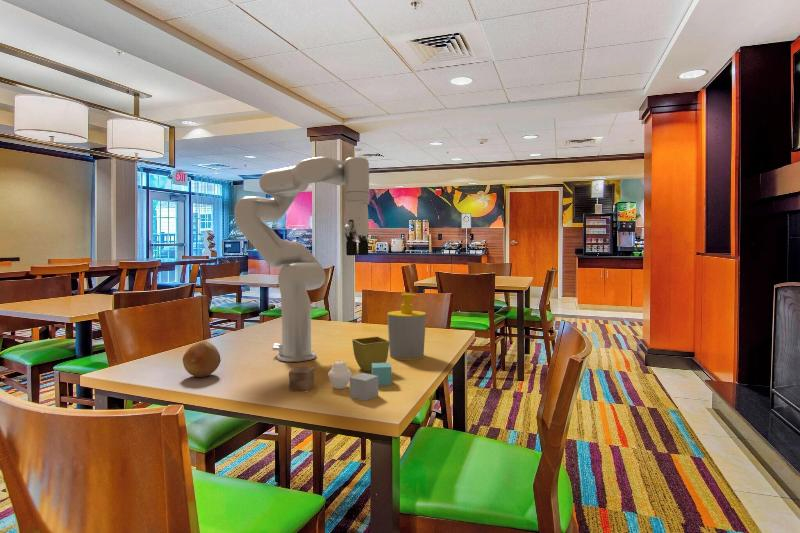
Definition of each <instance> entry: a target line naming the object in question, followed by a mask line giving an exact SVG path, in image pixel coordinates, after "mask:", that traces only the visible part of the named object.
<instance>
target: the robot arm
mask: <svg viewBox="0 0 800 533" xmlns="http://www.w3.org/2000/svg"><path fill="white" fill-rule="evenodd" d="M369 163H370V162H369V160H368V159H367V158H365V157H361V156H355V157H354V156H353V157H348V158H346V159H345V160H340V159H336V158H332V157H329V156H317V157H312V158H307V159H303V160H300V161H299V162H298V163H296V165H293V166H289V167H283V168H277V169H272V170H269V171H266V172H264V173H263V174H262V175H261V176H260V178H259V183H258V184H259V188H260V190H261V191H263V193H264V194H266V195H269V196H271V197H270V198H269V197H262V196H252V195H251V196H250V195H249V196H244V197H241V198H239V200H238V201H237V202H236V203H235V206H234V220H235V223H236V226H237V228H238V229H239V231H240V232H241V234H242V235H243V236H244V237H245V238H246V240H248V241H249V242H250V243H251V245H253V247H254V248H255V250H256V251H257V253H259V255H260V256H261V258H263V259H264V261H265V262H266V264H268V265H269V267H271V268H273V269H276V270H279V272H278V276H277V281H278V282H277V283H278V288H279V292H280V300H281V301H280V302H281V306H280V307H281V343H274V344H273V347H272V351H278V354H277V355H276V357H277V360H278V361H282V362H287V363H288V362H289V363H292V362H293V363H295V362H304V361H305V362H306V361H310V360H313V359H315V358H316V357H317V353H316V352H315V351H312V306H311V305H312V304H311V299H310V296H309V295H308V292H307V291H313V290H316V289H320V288H321V287H322V286H323V285H324V284H325V282H326V279H327V278H326V271H325V270H324V268H323V266H322V264H321V263H320V262H319V261H318V259H316V257H315V256H314V255H313V254H312V252H311V251H310V250H309V249H308V248H307V247H306V246H305V245H304V244H302V243H301V242H299V241H294V240H290V241H289V240H283V239H282V238H281V237H280V236H279V235H278V234H277V233H276V232H275V230H273V229H272V228H271V227H270V226H269V225H268V224H266V223H275V222H278V221H280V220H281V219H282V218H283V217H284V215H285V214H286V212H288V210H289V209H290V207H291V205H292V204H293V203H294V201H295V199H296V198H297V196H298V194H299V193H302V192H305V191H306V190H307V189H308V188H309V186H310V184H313V183H315V184H316V183H327V184H332V185H335V186H344V210H343V235H344V236H345V243H346V244H345V245H346V246H345V248H346V250H345V251H346V253H345V255H346V256H357V255H358V256H368V255H369V233H370V222H369V209H368V205H370V164H369ZM357 238H358V241H357Z"/></svg>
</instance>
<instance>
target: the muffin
mask: <svg viewBox="0 0 800 533" xmlns="http://www.w3.org/2000/svg"><path fill="white" fill-rule="evenodd" d="M327 375H328V376H327V377H328V379H329V382H330V383H331V385H332V387H333V388H334V389H338V390H341V389H346V388H347V386H348V384H349V383H350V377H352V371H351V370H350V369H349V367H348V366H347V363H346V362H345V361H341V360H339V361H335V362H334V363H333V365H332V367H331V369H330V370H329V371H328V373H327Z"/></svg>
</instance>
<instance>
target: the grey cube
mask: <svg viewBox="0 0 800 533" xmlns="http://www.w3.org/2000/svg"><path fill="white" fill-rule="evenodd" d="M378 396H379V386H378V376H376V375H372V374H370V373H365V372H361V373H359V374H356V375H352V376H351V377H350V380H349V398H351V399H355V400H360V401H364V402H367V401H370V400H372V399H374V398H376V397H378Z"/></svg>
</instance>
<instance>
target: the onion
mask: <svg viewBox="0 0 800 533" xmlns="http://www.w3.org/2000/svg"><path fill="white" fill-rule="evenodd" d="M221 360H222V359H221V355H220V352H219V350H218V348H217V347H216V346H215V344H213V343H211V342H210V341H209V342H208V341H206V340H200V341H197V342H195V343H193V344H192V345H191V346H190V347H189V348H188V349H187V350H186V351H185V353H184V354H183V356H182V362H183V363H182V364H183V367H184V369H185V371H186V372H187V373H188V374H189V375H190V376H193V377H197V378H201V379H202V378H206V377H208V376H210V375H211V374H213V373H214V372H216V371H217V369H218V367H219V366H220V364H221Z"/></svg>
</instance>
